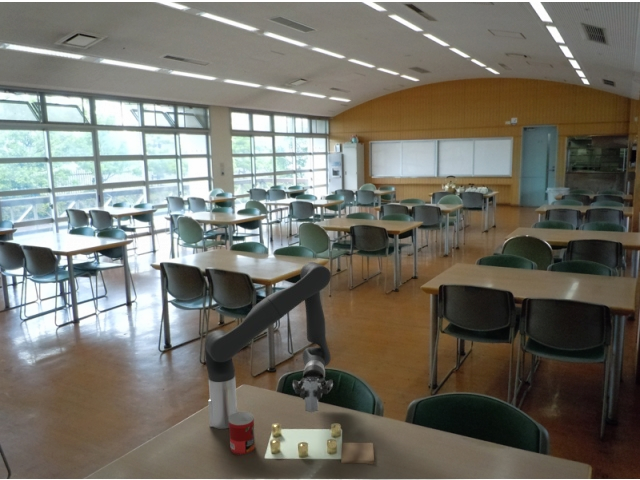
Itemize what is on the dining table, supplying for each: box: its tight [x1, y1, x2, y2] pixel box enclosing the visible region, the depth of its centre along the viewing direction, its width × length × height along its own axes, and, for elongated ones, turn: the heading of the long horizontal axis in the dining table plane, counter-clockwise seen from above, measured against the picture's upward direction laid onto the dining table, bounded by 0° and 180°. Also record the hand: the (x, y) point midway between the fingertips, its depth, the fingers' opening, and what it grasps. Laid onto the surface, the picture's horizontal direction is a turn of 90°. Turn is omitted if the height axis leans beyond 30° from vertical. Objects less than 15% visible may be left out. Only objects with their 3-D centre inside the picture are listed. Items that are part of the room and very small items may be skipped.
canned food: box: [228, 411, 256, 456], centre depth 170 cm, size 8×8×11 cm
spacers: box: [270, 422, 342, 458], centre depth 171 cm, size 23×15×4 cm, turn 87°
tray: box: [340, 442, 375, 465], centre depth 166 cm, size 10×10×1 cm
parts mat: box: [264, 428, 343, 460], centre depth 173 cm, size 24×18×1 cm
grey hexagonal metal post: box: [304, 377, 319, 413], centre depth 170 cm, size 4×5×10 cm
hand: (310, 396), depth 167 cm, fingers closed on grey hexagonal metal post, 4 cm apart
